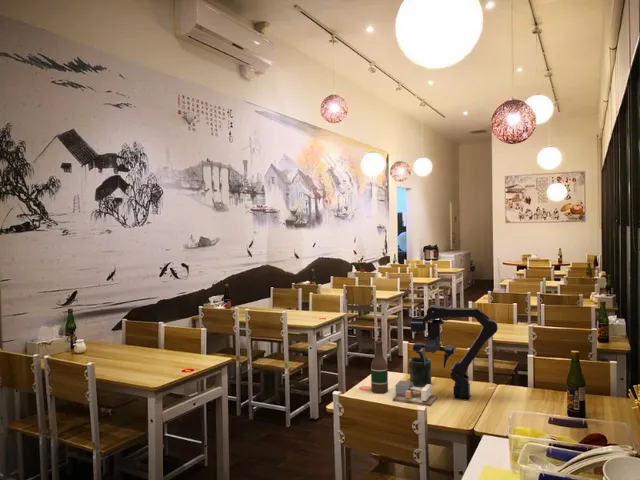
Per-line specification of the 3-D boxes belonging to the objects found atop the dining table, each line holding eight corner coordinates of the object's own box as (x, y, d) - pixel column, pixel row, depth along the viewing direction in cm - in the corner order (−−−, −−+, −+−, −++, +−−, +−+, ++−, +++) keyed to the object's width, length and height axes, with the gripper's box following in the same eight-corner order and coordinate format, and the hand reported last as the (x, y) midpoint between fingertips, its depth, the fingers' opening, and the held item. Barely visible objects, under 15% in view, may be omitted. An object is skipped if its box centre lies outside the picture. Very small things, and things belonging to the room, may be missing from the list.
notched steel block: (413, 393, 230) (412, 382, 230) (408, 397, 224) (408, 386, 224) (400, 391, 233) (400, 380, 233) (395, 395, 227) (395, 384, 227)
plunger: (431, 394, 226) (431, 384, 226) (425, 401, 218) (425, 390, 218) (412, 391, 230) (412, 382, 230) (405, 398, 222) (405, 388, 222)
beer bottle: (387, 394, 232) (386, 342, 232) (370, 393, 234) (369, 342, 233) (388, 389, 240) (387, 339, 239) (372, 388, 241) (371, 338, 241)
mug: (418, 388, 240) (417, 363, 239) (401, 380, 253) (400, 356, 253) (436, 385, 244) (436, 360, 244) (419, 377, 257) (418, 354, 257)
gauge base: (437, 397, 226) (437, 395, 226) (430, 406, 215) (430, 403, 215) (401, 392, 234) (401, 390, 234) (392, 400, 223) (392, 398, 223)
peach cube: (411, 397, 223) (411, 390, 223) (410, 398, 221) (409, 392, 221) (407, 396, 224) (406, 390, 224) (405, 398, 222) (405, 391, 222)
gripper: (408, 334, 226) (409, 369, 226) (450, 338, 218) (450, 374, 218) (415, 330, 236) (416, 363, 236) (456, 333, 227) (456, 367, 228)
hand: (434, 367), depth 229 cm, fingers open, 9 cm apart
